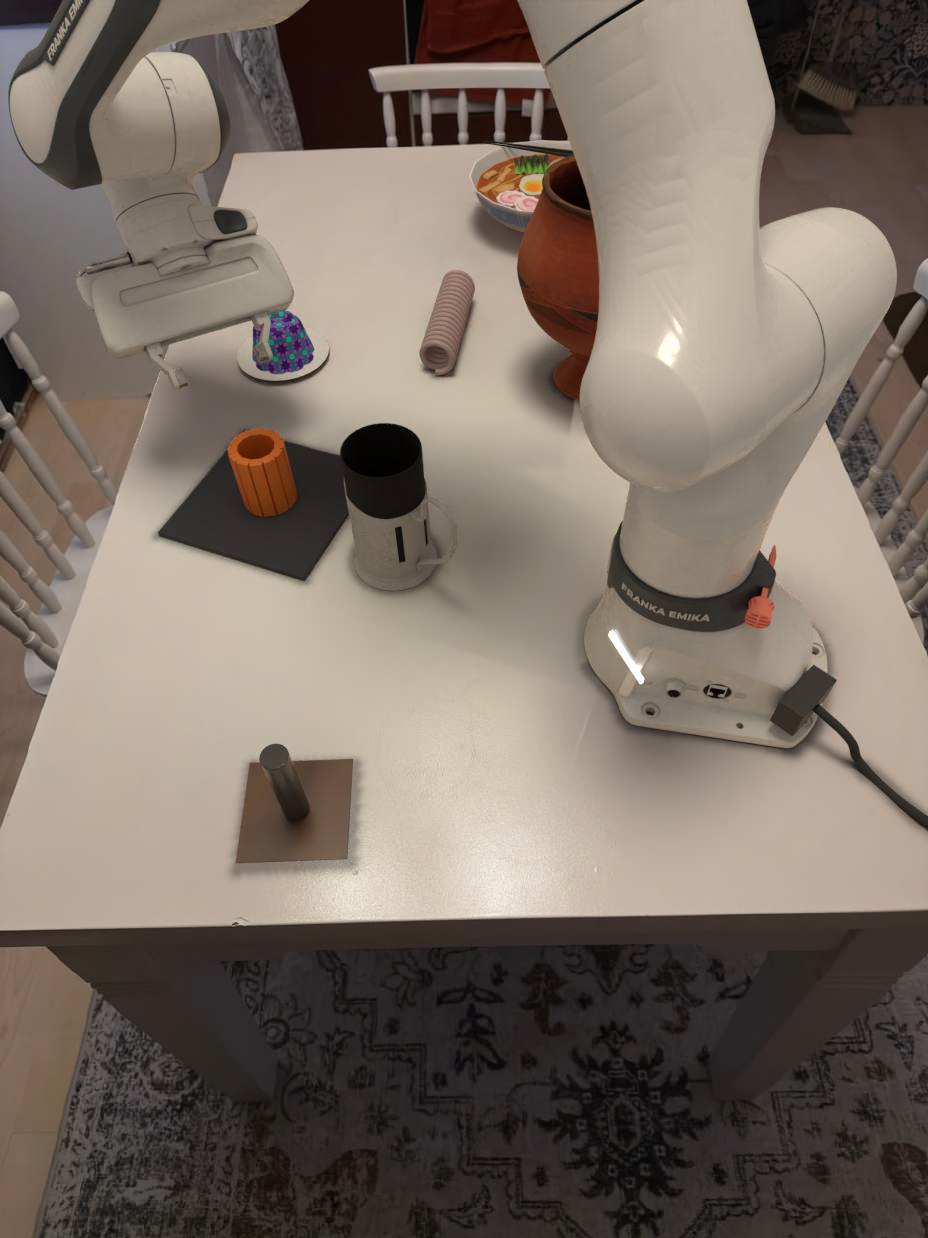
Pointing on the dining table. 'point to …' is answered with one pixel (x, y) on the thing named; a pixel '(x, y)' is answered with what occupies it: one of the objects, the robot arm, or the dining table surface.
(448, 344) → the coil
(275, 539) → the mat
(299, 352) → the pudding
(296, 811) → the stake stand
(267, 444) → the orange grooved hollow cylinder
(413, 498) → the glass holder
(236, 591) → the dining table surface
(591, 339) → the goblet
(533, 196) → the ramen bowl
